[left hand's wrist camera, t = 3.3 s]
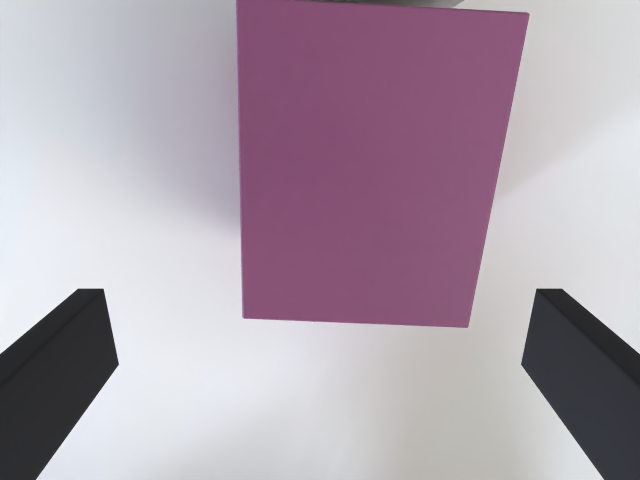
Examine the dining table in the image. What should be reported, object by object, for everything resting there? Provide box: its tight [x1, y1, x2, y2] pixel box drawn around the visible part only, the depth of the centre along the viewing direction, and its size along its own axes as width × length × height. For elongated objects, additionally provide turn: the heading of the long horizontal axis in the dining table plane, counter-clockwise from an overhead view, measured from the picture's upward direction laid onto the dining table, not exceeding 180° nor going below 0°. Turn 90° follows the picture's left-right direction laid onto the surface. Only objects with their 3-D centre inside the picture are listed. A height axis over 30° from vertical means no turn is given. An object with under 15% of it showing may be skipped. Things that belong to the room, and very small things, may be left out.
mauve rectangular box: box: [236, 0, 529, 328], centre depth 23 cm, size 14×11×10 cm
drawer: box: [304, 0, 464, 8], centre depth 21 cm, size 18×10×8 cm, turn 177°
